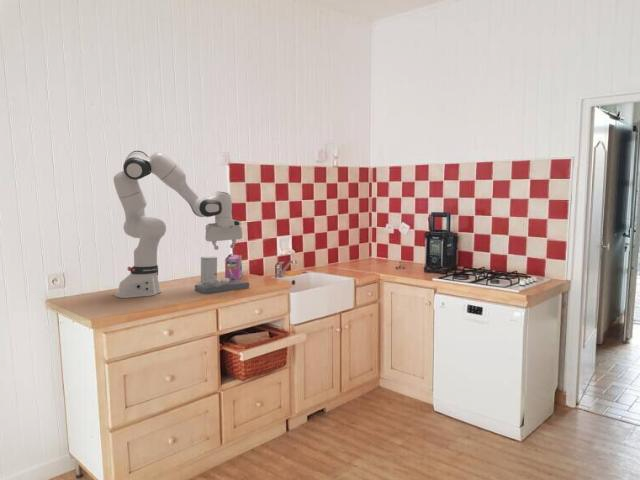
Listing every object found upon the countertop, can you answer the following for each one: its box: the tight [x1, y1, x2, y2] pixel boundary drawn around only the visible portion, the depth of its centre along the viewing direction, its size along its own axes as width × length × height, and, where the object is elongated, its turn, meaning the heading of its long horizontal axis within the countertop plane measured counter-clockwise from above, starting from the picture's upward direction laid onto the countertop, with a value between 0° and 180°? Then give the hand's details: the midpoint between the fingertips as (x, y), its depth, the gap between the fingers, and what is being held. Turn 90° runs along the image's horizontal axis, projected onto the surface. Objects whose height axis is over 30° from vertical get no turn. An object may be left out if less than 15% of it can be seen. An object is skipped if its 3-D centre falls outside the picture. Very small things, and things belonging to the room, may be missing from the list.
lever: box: [227, 264, 235, 280], centre depth 272 cm, size 2×2×10 cm
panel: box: [194, 279, 250, 295], centre depth 264 cm, size 26×12×3 cm, turn 131°
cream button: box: [220, 277, 229, 283], centre depth 262 cm, size 4×4×2 cm
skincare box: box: [200, 256, 218, 284], centre depth 285 cm, size 8×6×15 cm
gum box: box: [224, 253, 243, 281], centre depth 299 cm, size 24×8×14 cm, turn 3°
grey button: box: [207, 280, 216, 285], centre depth 256 cm, size 4×4×2 cm
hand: (224, 248), depth 260 cm, fingers open, 8 cm apart
